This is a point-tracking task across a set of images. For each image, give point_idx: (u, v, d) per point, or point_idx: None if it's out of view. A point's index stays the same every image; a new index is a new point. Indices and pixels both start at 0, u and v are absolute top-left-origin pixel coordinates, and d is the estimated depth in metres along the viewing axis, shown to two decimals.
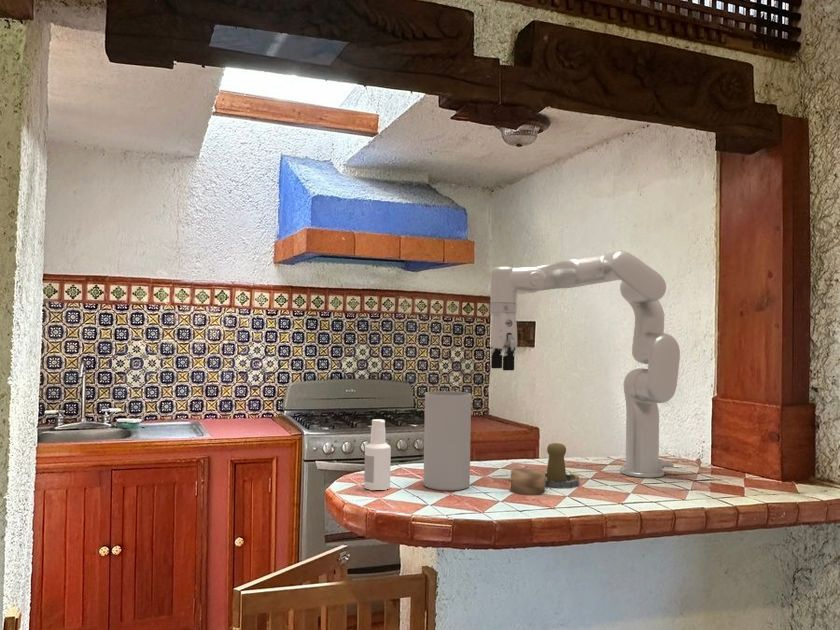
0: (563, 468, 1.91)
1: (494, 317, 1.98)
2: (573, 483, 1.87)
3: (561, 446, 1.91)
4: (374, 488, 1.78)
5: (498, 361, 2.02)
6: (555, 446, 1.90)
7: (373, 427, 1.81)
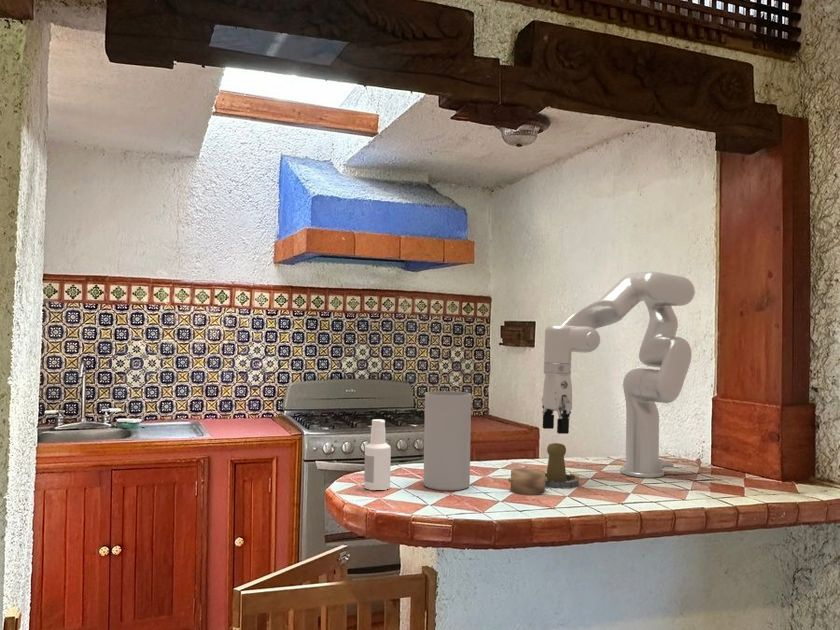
0: (563, 468, 1.91)
1: (548, 377, 1.93)
2: (573, 483, 1.87)
3: (561, 446, 1.91)
4: (374, 488, 1.78)
5: (550, 421, 1.97)
6: (555, 446, 1.90)
7: (373, 427, 1.81)
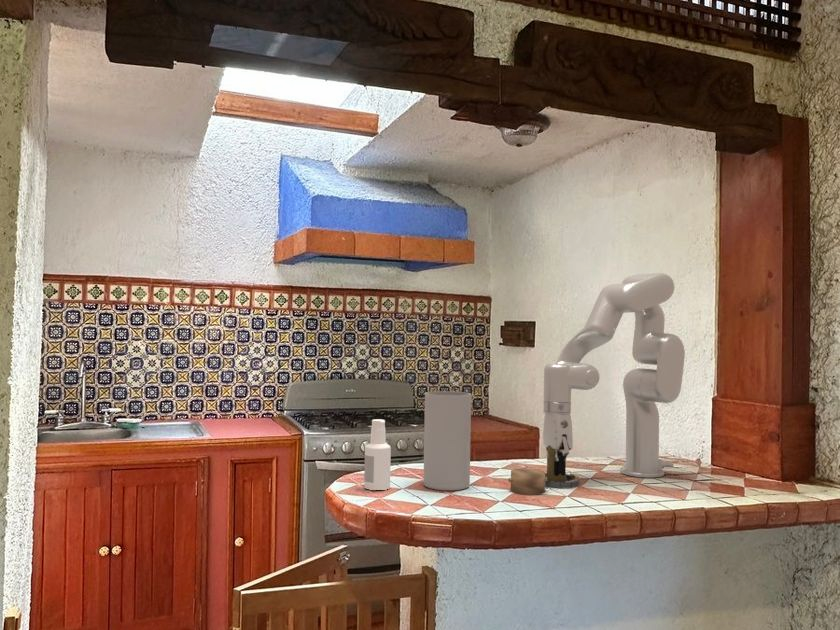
0: None
1: (548, 415, 1.92)
2: (573, 483, 1.87)
3: None
4: (374, 488, 1.78)
5: None
6: None
7: (373, 427, 1.81)
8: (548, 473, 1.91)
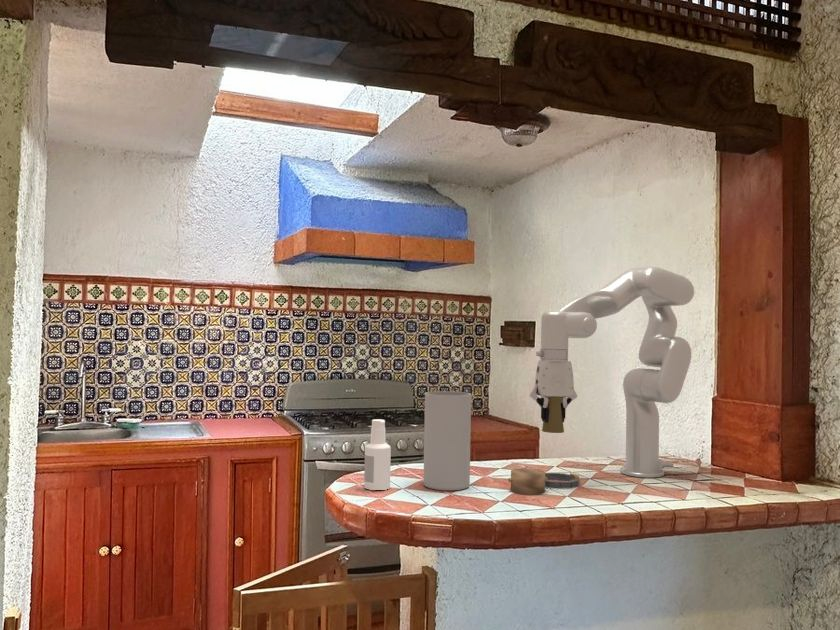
0: None
1: None
2: (573, 483, 1.87)
3: None
4: (374, 488, 1.78)
5: None
6: None
7: (373, 427, 1.81)
8: None
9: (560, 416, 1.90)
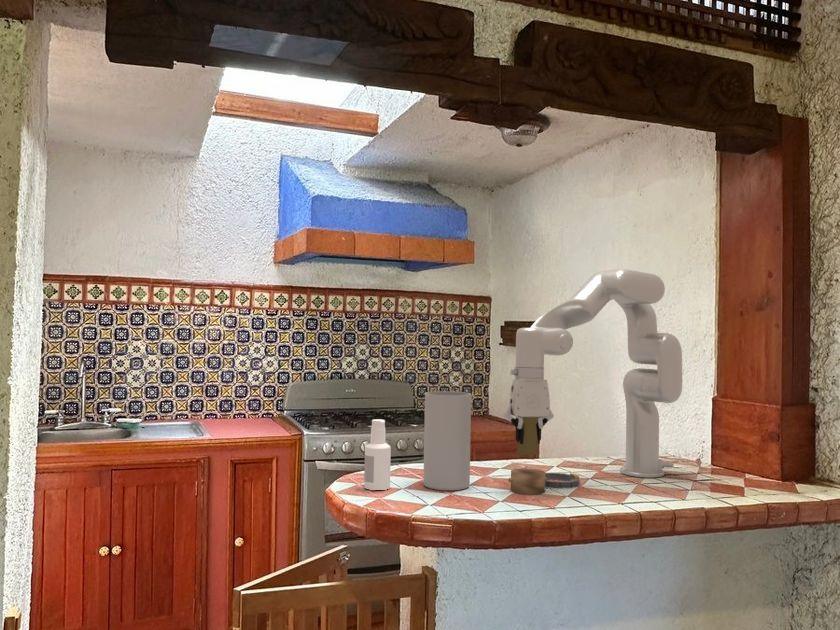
0: None
1: None
2: (573, 483, 1.87)
3: None
4: (374, 488, 1.78)
5: None
6: None
7: (373, 427, 1.81)
8: None
9: (535, 437, 1.81)
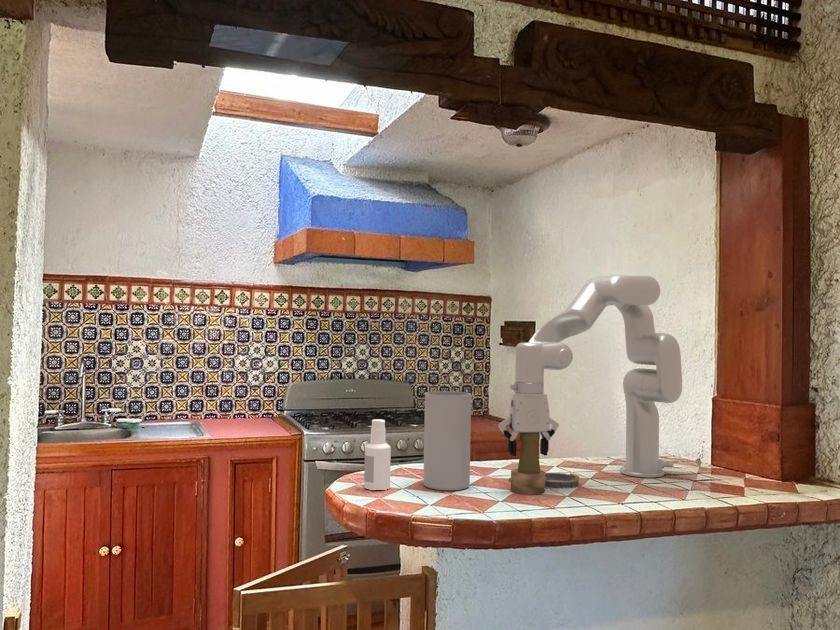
0: (523, 455, 1.81)
1: None
2: (573, 483, 1.87)
3: None
4: (374, 488, 1.78)
5: (542, 447, 1.83)
6: None
7: (373, 427, 1.81)
8: None
9: (536, 456, 1.81)
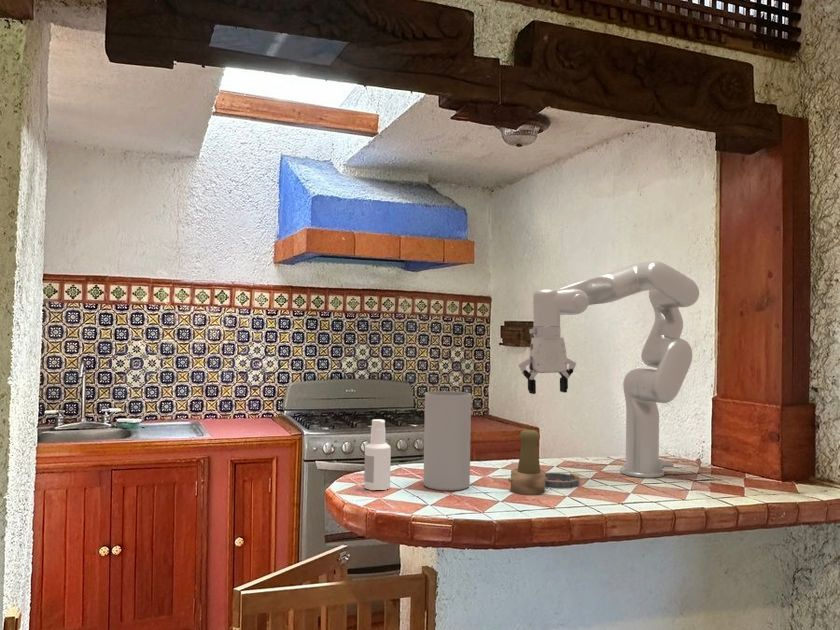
0: (523, 455, 1.81)
1: None
2: (573, 483, 1.87)
3: (523, 432, 1.82)
4: (374, 488, 1.78)
5: (562, 385, 1.97)
6: (521, 431, 1.83)
7: (373, 427, 1.81)
8: None
9: (536, 456, 1.81)
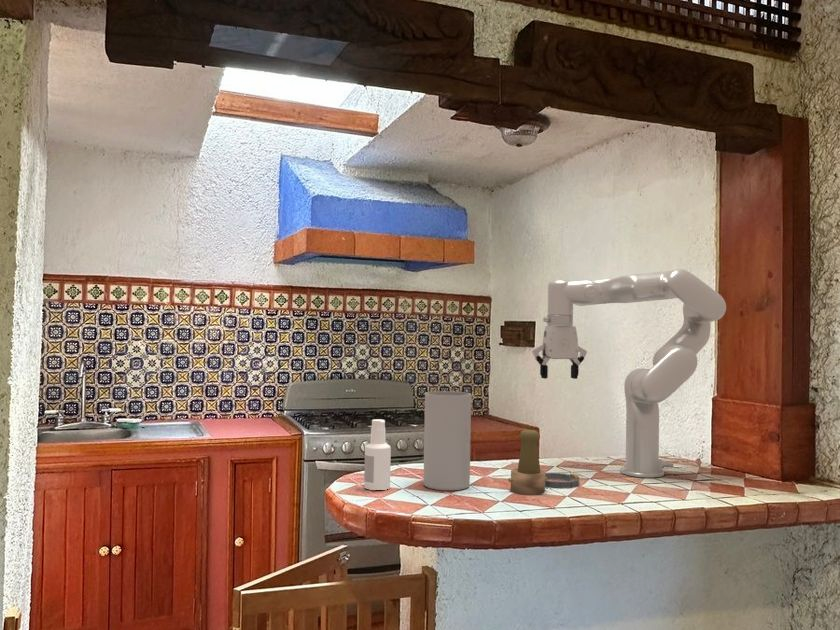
0: (523, 455, 1.81)
1: None
2: (573, 483, 1.87)
3: (523, 432, 1.82)
4: (374, 488, 1.78)
5: (573, 371, 2.08)
6: (521, 431, 1.83)
7: (373, 427, 1.81)
8: None
9: (536, 456, 1.81)
